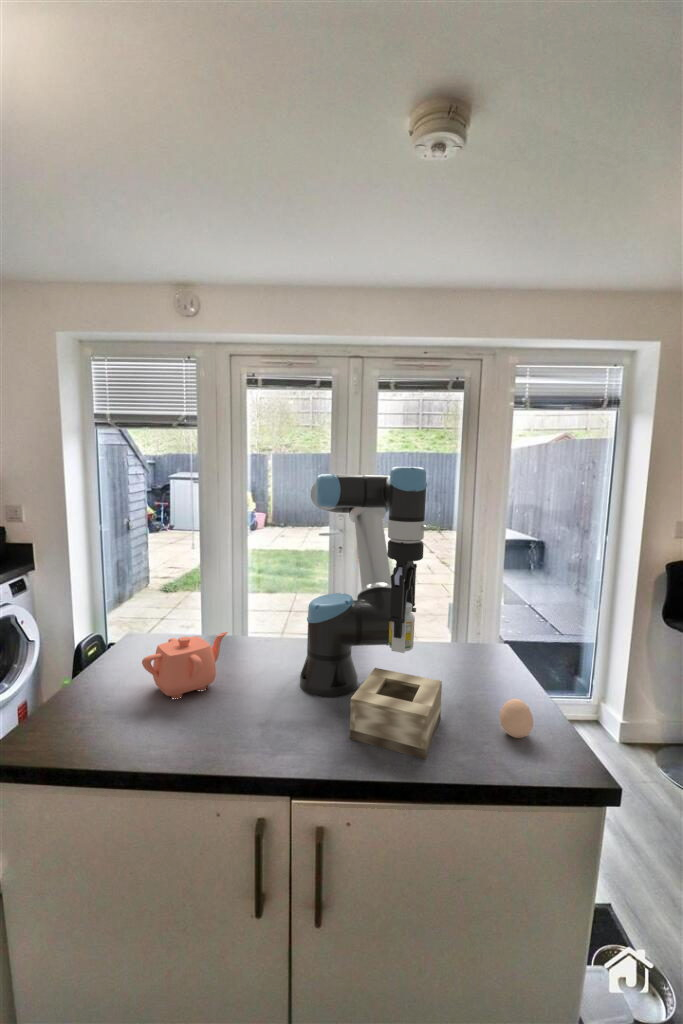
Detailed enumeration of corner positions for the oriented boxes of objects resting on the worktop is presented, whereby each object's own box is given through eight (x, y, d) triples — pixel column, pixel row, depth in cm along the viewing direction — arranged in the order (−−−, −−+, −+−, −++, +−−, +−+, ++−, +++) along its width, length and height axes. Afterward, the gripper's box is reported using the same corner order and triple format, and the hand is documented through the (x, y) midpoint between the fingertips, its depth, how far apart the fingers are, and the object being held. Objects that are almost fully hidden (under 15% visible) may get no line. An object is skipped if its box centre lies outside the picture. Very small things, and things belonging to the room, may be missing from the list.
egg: (515, 748, 88) (517, 711, 88) (492, 730, 94) (494, 695, 94) (539, 740, 91) (541, 704, 90) (515, 724, 97) (517, 690, 96)
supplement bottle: (405, 654, 90) (407, 609, 89) (383, 647, 93) (385, 604, 92) (417, 646, 94) (419, 603, 93) (396, 639, 97) (398, 598, 96)
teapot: (139, 702, 103) (138, 649, 102) (167, 672, 118) (167, 626, 117) (209, 705, 102) (209, 651, 101) (228, 674, 118) (228, 628, 117)
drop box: (349, 738, 90) (350, 698, 90) (374, 702, 105) (375, 667, 104) (425, 759, 84) (427, 716, 83) (440, 718, 99) (441, 681, 98)
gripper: (414, 548, 81) (409, 666, 83) (431, 535, 98) (426, 634, 100) (375, 545, 84) (372, 659, 86) (399, 533, 101) (395, 629, 103)
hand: (401, 645), depth 93 cm, fingers closed on supplement bottle, 5 cm apart
